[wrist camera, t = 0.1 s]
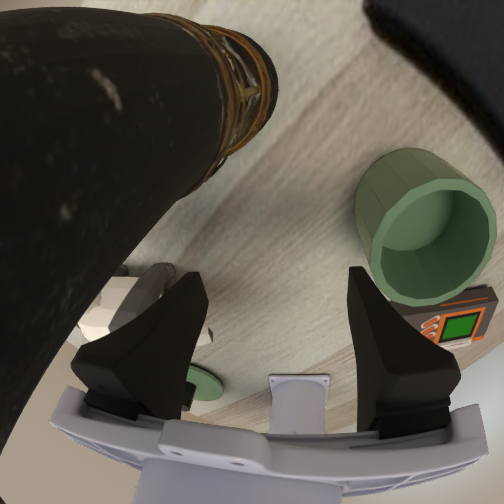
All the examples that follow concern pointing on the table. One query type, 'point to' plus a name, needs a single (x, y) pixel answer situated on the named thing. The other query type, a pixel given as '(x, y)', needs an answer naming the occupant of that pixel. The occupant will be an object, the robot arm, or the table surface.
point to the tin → (423, 227)
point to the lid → (200, 387)
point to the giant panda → (130, 302)
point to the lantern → (103, 156)
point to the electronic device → (453, 317)
